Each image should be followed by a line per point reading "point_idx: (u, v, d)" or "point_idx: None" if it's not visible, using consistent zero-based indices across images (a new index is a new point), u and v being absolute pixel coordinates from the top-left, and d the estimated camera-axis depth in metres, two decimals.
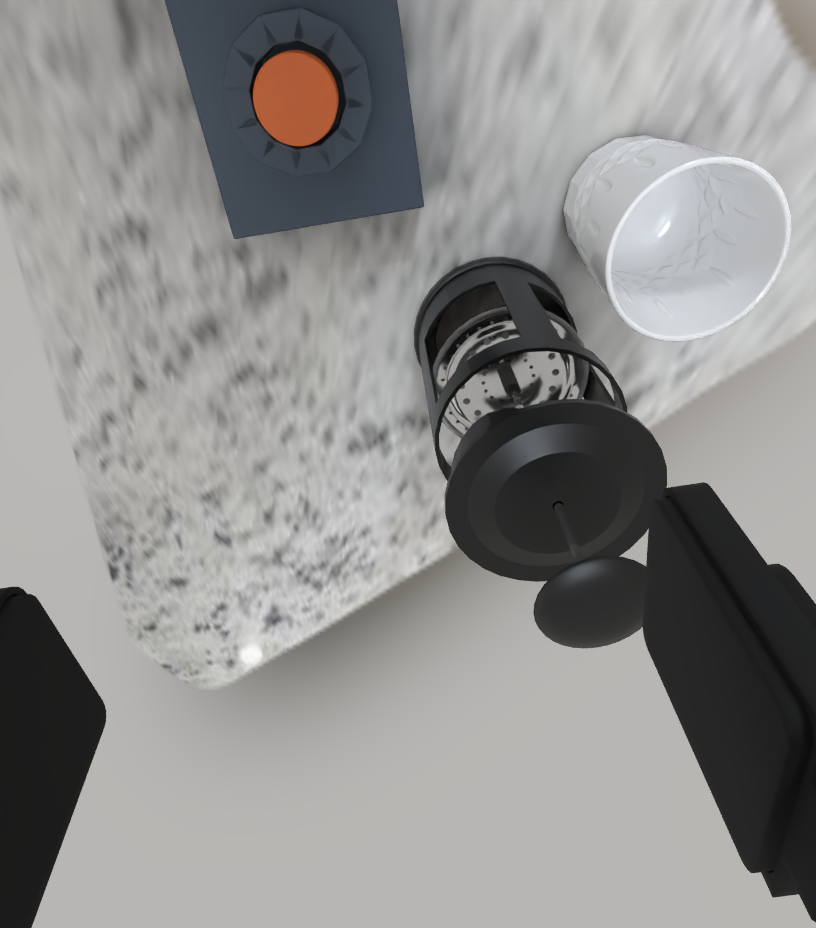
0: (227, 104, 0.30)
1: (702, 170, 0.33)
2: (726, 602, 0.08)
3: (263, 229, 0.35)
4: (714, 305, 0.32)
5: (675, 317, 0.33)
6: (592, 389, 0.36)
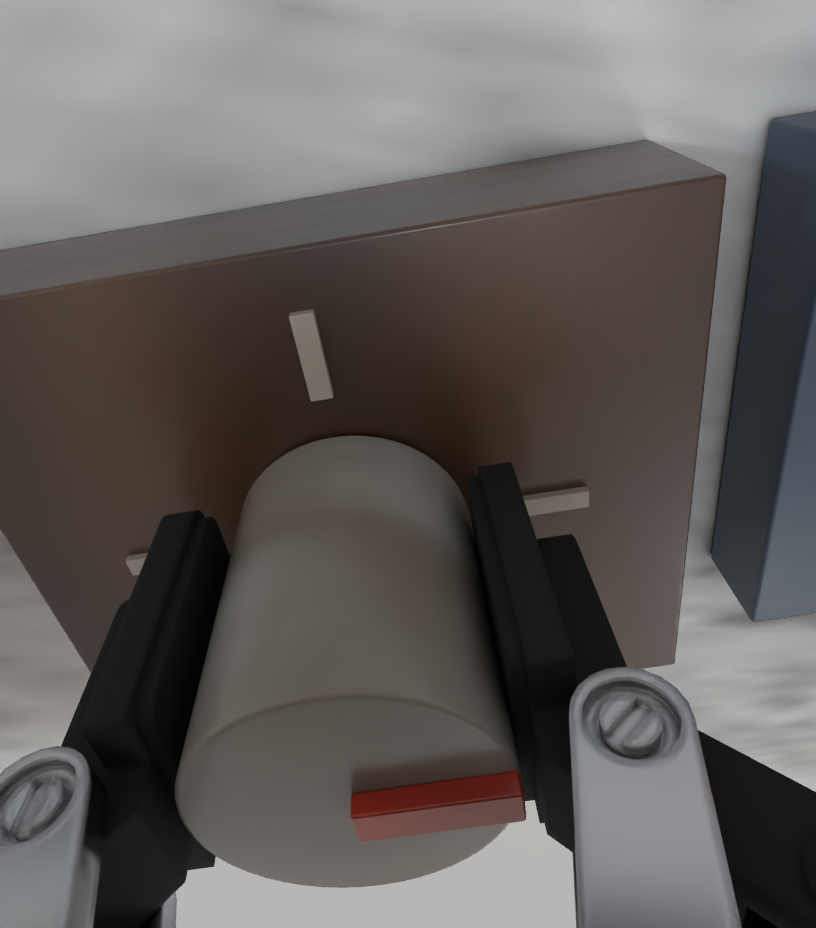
0: None
1: None
2: (493, 563, 0.09)
3: None
4: None
5: None
6: None
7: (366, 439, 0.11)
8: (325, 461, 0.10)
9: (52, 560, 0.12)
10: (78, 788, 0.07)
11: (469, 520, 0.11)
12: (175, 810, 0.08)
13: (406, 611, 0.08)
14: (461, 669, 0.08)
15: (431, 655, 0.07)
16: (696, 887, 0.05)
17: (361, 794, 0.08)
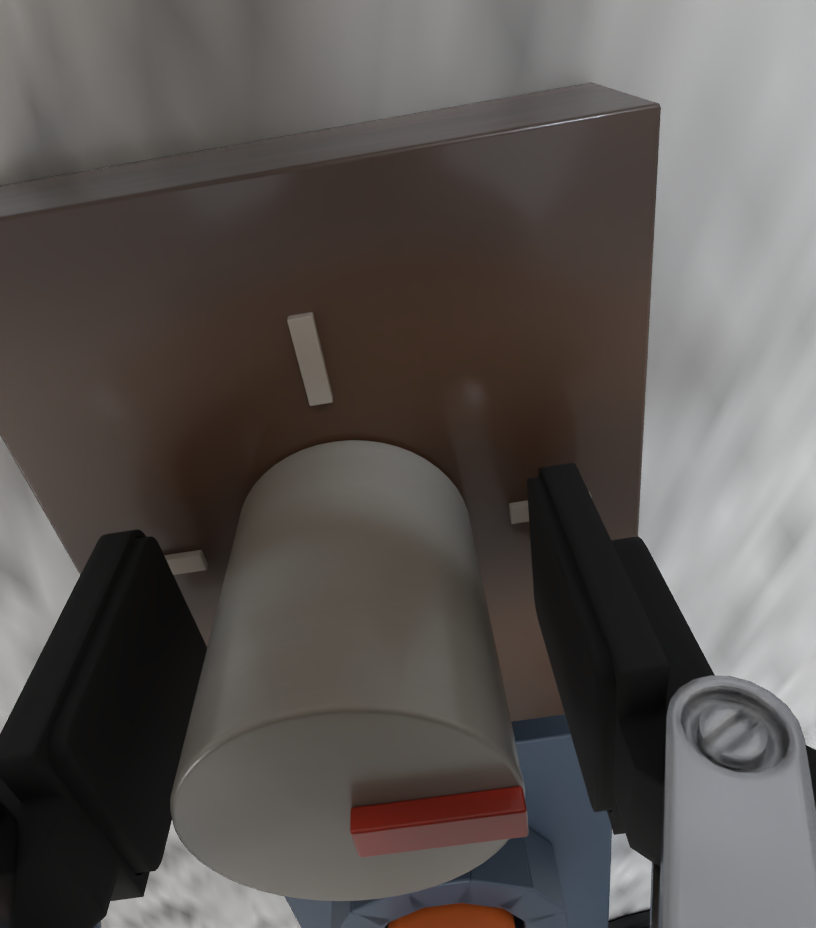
0: None
1: None
2: (567, 566, 0.08)
3: None
4: None
5: None
6: None
7: (367, 444, 0.11)
8: (326, 466, 0.10)
9: (300, 214, 0.09)
10: None
11: (470, 527, 0.11)
12: (96, 842, 0.08)
13: (408, 622, 0.08)
14: (464, 682, 0.07)
15: (434, 668, 0.07)
16: None
17: (361, 808, 0.07)
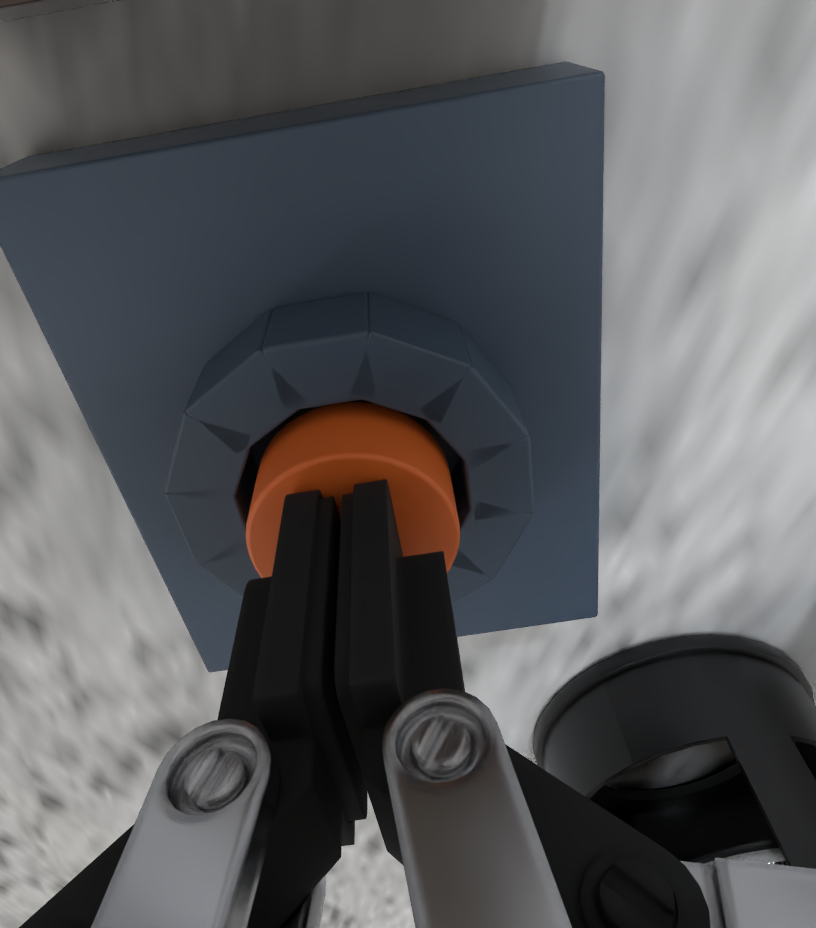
0: (181, 521, 0.12)
1: None
2: (346, 582, 0.09)
3: None
4: None
5: None
6: None
7: None
8: None
9: None
10: (260, 759, 0.07)
11: None
12: (330, 785, 0.08)
13: None
14: None
15: None
16: (458, 910, 0.06)
17: None
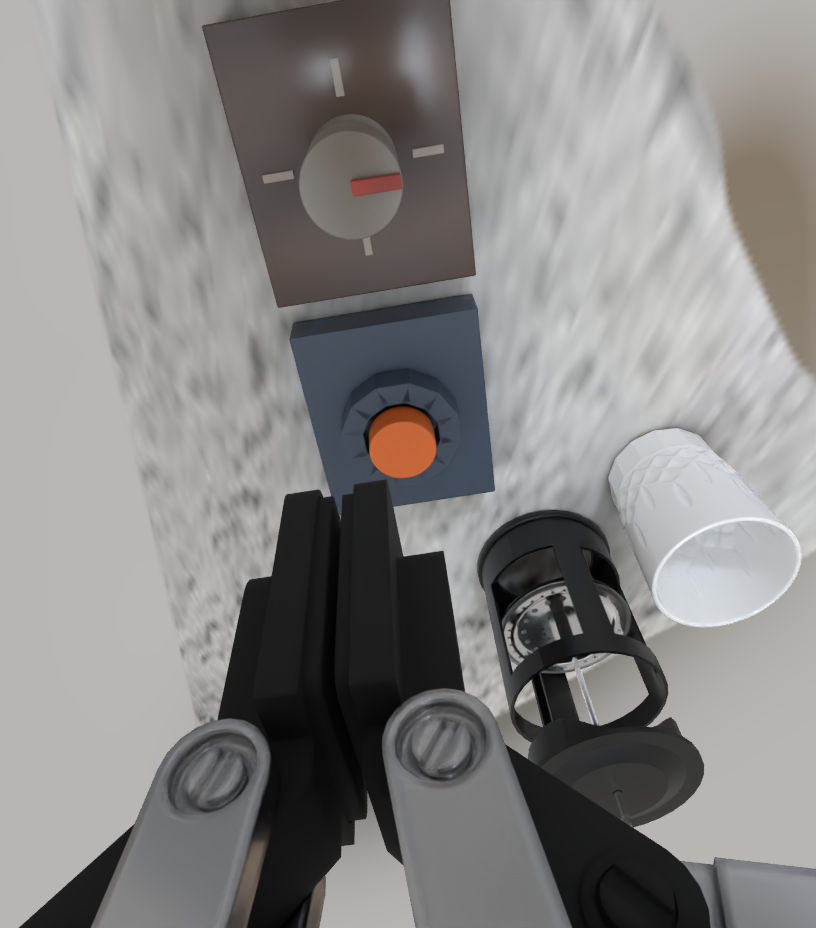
0: (344, 443, 0.37)
1: None
2: (346, 582, 0.09)
3: None
4: (737, 591, 0.39)
5: (705, 598, 0.40)
6: (634, 638, 0.43)
7: None
8: (342, 116, 0.29)
9: (334, 19, 0.27)
10: (260, 759, 0.07)
11: None
12: (331, 785, 0.08)
13: (368, 129, 0.26)
14: (383, 142, 0.26)
15: (374, 135, 0.26)
16: (458, 911, 0.06)
17: (354, 179, 0.26)
